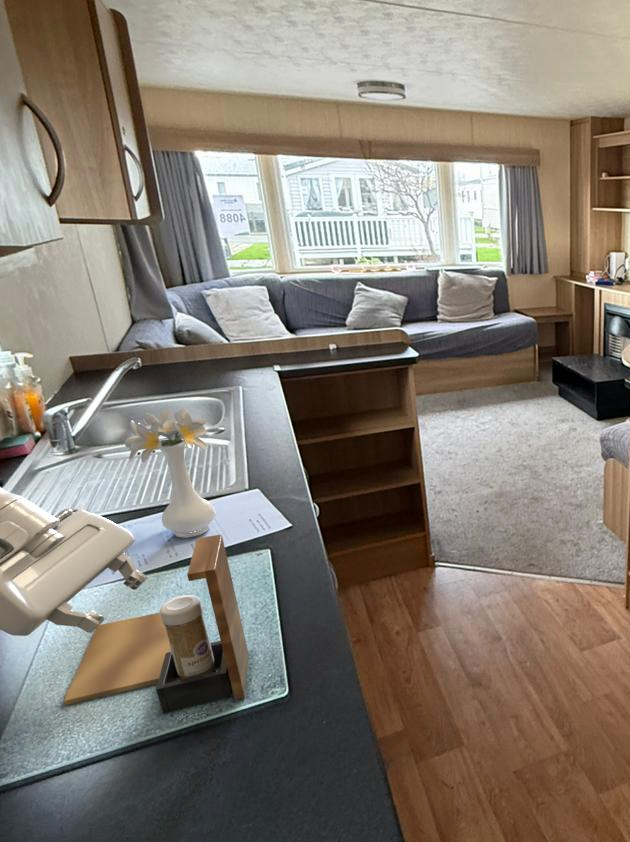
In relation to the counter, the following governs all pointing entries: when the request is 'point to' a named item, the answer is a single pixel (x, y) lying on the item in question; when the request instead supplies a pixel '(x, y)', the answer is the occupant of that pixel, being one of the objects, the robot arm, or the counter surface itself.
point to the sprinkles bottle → (188, 636)
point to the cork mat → (121, 658)
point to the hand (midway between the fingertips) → (121, 603)
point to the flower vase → (175, 468)
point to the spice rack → (226, 652)
